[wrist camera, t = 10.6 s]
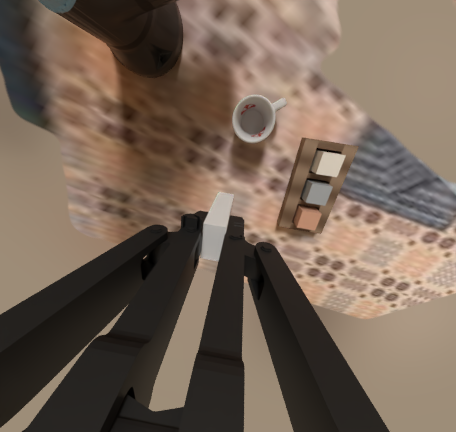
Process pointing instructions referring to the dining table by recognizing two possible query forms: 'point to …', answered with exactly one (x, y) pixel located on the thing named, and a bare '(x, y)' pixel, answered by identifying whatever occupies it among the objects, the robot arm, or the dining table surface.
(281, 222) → the key block
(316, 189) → the slate key
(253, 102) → the cup
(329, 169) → the cream key
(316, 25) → the dining table surface
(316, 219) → the terracotta key
